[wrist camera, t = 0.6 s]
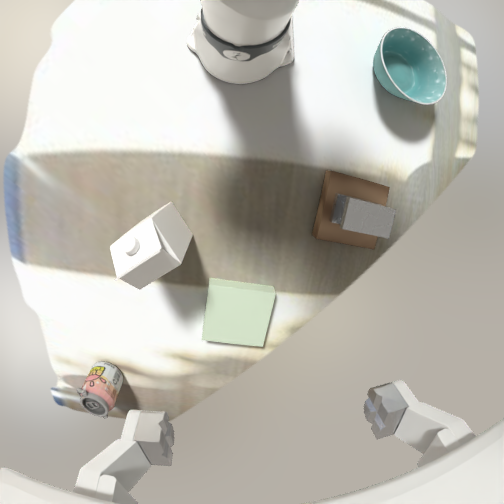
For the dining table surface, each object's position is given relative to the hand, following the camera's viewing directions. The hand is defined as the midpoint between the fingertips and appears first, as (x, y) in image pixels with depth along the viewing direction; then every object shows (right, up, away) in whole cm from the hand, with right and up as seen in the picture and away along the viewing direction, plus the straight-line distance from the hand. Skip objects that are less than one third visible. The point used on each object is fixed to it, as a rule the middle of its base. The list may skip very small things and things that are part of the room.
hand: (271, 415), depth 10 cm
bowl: (+27, +42, +34) cm, 61 cm away
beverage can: (-35, -22, +48) cm, 64 cm away
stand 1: (-4, -5, +46) cm, 46 cm away
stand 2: (+17, +14, +42) cm, 47 cm away
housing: (+17, +13, +39) cm, 45 cm away
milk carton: (-16, +11, +40) cm, 44 cm away
